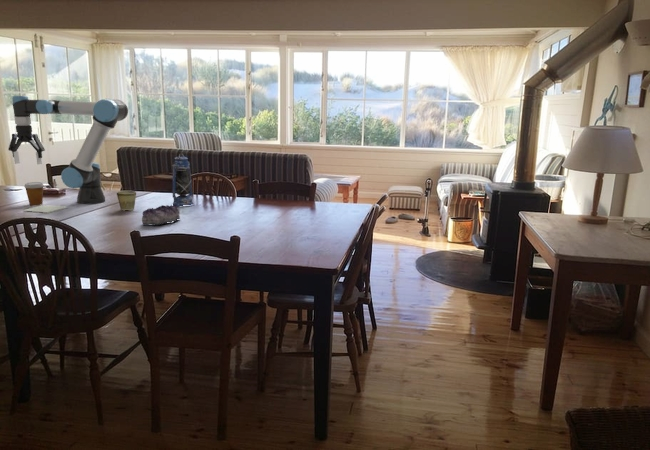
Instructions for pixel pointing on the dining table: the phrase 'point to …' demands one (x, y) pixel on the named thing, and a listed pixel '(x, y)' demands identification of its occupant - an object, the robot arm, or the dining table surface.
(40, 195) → the disposable coffee cup
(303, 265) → the dining table surface
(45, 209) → the sage placemat
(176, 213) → the geode
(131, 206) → the yellow green plant pot
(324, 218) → the dining table surface
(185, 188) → the lantern
